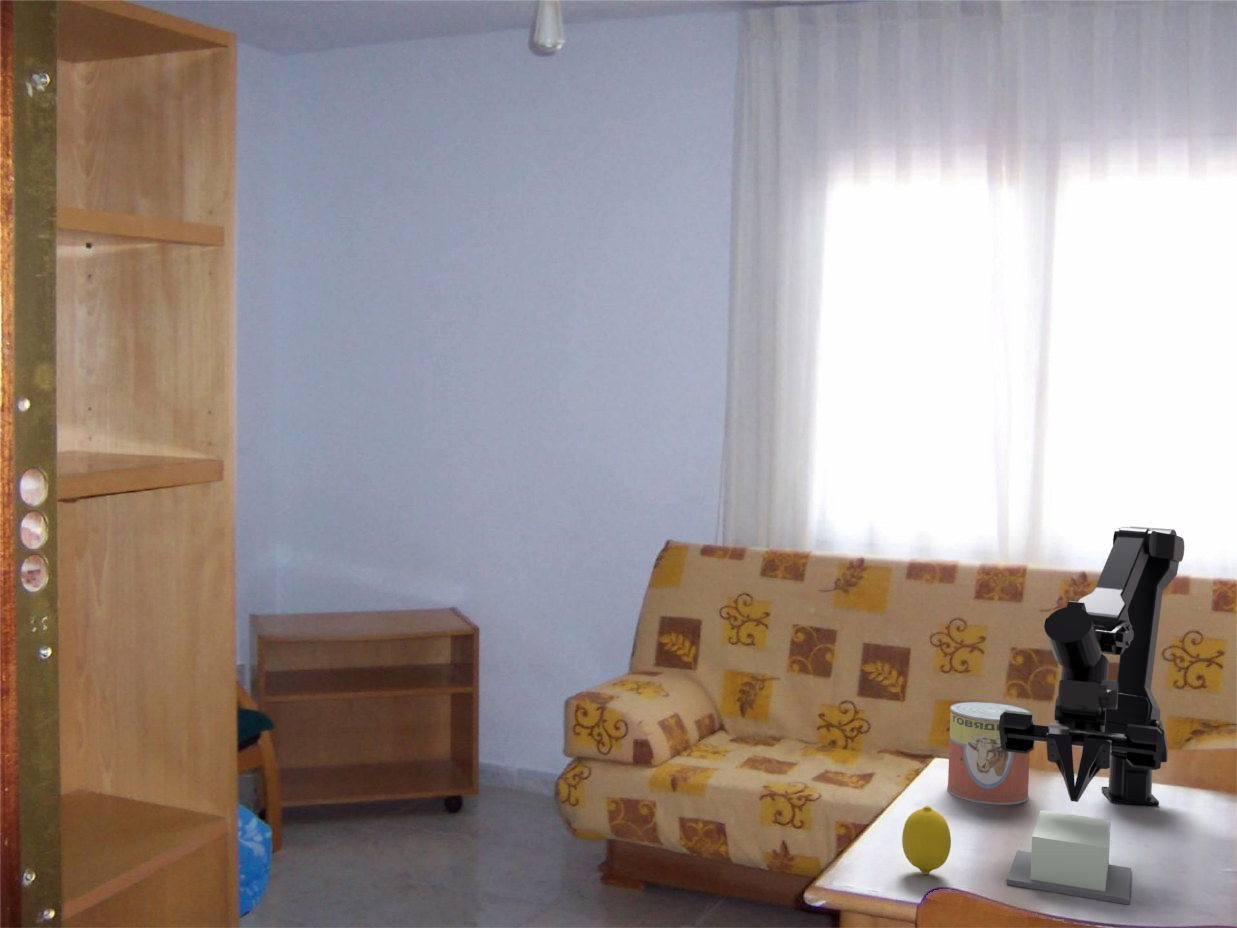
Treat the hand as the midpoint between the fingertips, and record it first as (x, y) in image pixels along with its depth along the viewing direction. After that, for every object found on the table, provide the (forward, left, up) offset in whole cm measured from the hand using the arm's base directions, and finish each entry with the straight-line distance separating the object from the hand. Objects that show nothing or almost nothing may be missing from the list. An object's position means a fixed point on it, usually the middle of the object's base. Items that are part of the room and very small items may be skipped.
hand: (1074, 799), depth 149 cm
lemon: (+6, -18, -8) cm, 20 cm away
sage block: (-3, +1, -5) cm, 6 cm away
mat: (+4, -1, -8) cm, 9 cm away
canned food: (-30, -6, -8) cm, 32 cm away
